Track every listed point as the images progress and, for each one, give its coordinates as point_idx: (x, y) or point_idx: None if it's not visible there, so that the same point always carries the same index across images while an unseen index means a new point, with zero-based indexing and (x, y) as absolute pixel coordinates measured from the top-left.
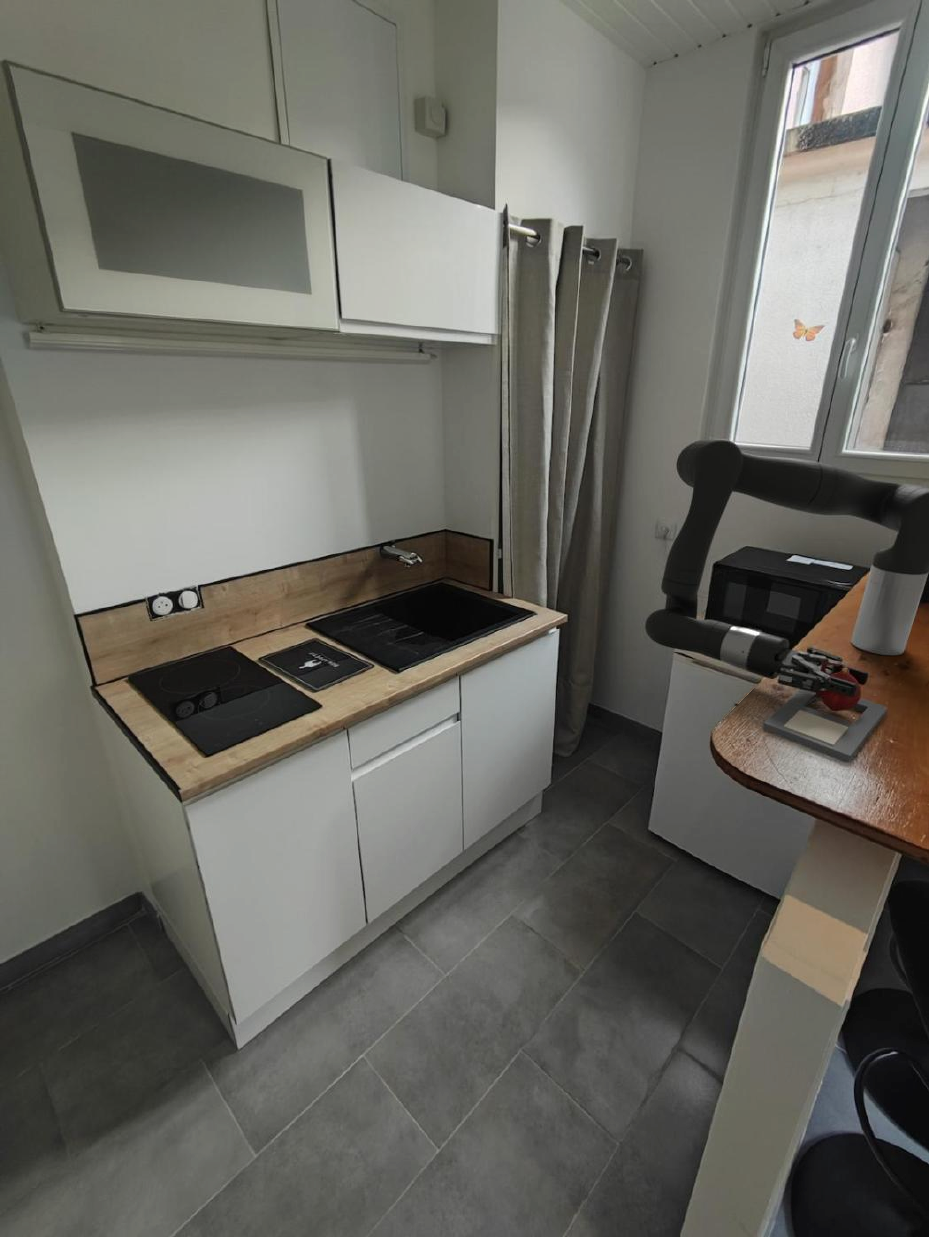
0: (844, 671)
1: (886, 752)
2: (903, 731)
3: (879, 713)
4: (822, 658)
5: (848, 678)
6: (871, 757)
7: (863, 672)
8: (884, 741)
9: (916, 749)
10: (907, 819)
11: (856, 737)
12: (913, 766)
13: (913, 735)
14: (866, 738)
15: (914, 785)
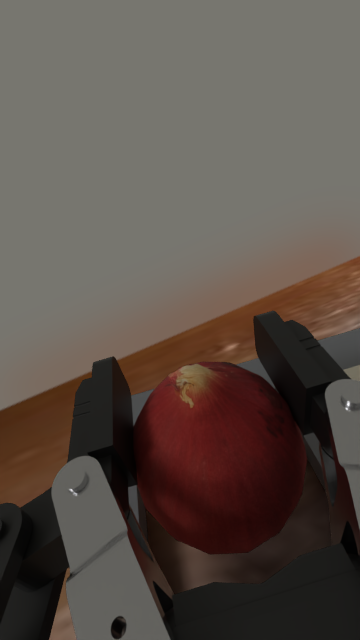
0: (212, 371)
1: None
2: (162, 360)
3: (149, 395)
4: (142, 574)
5: (220, 366)
6: (340, 324)
7: (111, 364)
8: (246, 350)
9: (214, 320)
10: None
11: (339, 345)
12: (279, 295)
13: (162, 346)
14: None
15: (333, 271)
